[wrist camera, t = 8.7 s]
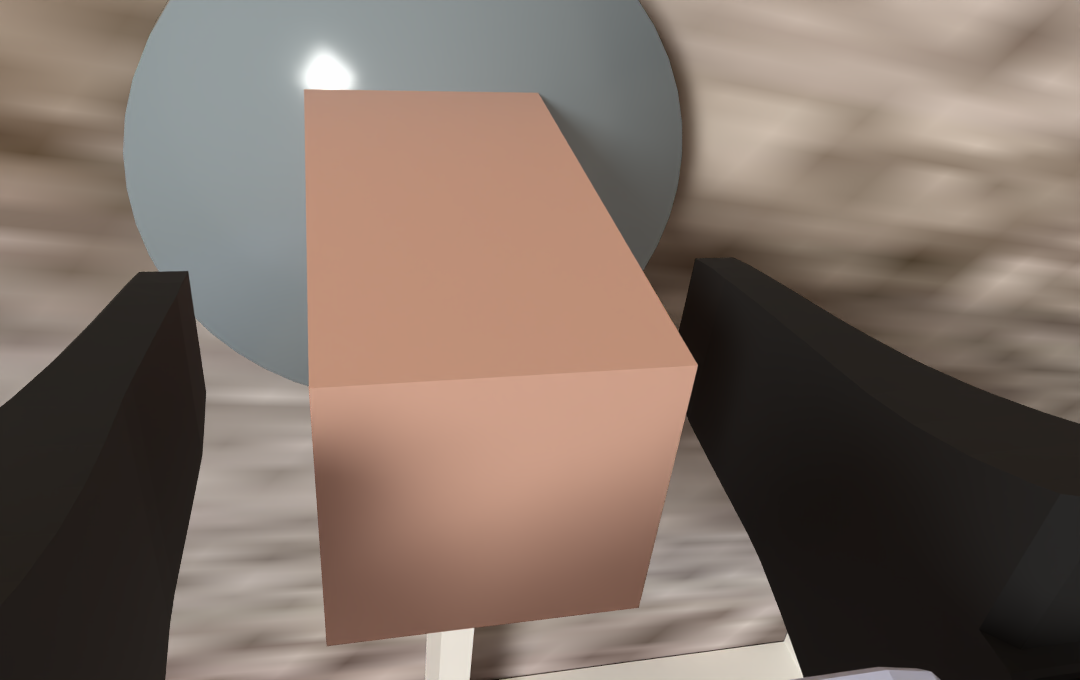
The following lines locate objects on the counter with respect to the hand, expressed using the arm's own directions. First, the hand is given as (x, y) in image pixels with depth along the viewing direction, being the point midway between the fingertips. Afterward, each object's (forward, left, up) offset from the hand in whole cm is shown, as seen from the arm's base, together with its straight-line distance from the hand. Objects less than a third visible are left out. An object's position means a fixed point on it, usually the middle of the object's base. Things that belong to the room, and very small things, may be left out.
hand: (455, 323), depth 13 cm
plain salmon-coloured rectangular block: (0, 0, -4) cm, 4 cm away
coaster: (0, 0, -5) cm, 5 cm away
